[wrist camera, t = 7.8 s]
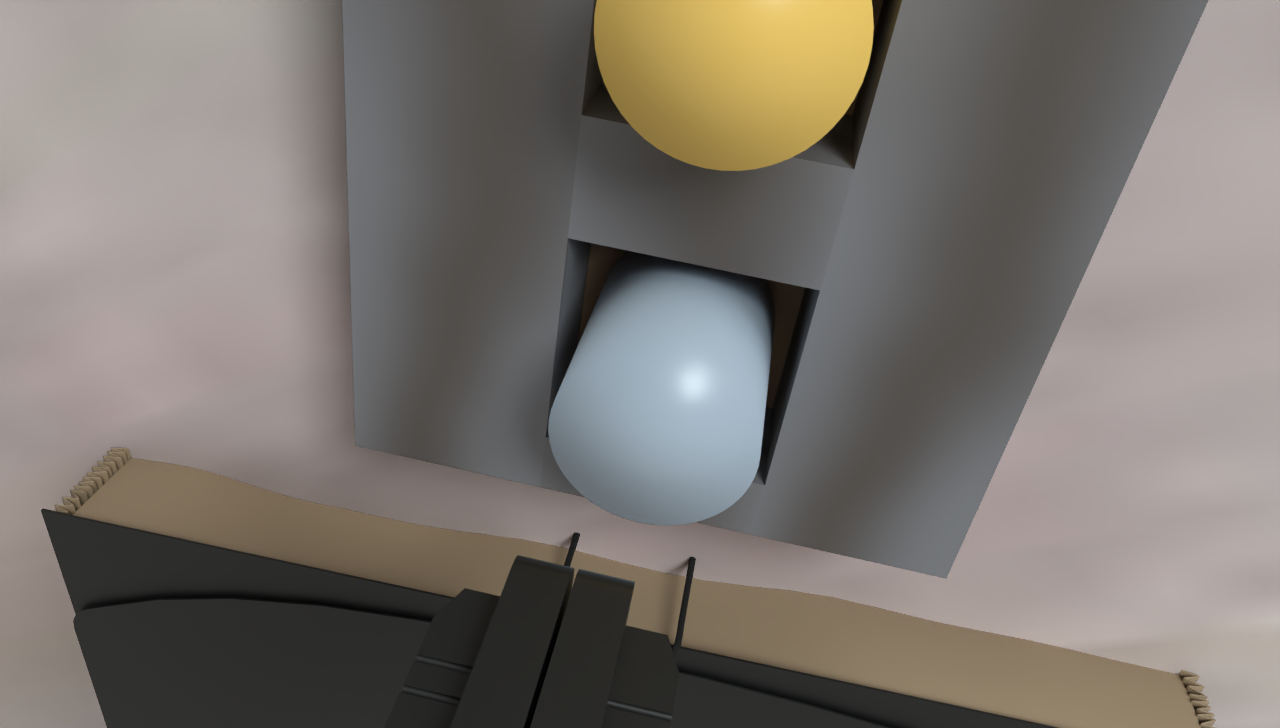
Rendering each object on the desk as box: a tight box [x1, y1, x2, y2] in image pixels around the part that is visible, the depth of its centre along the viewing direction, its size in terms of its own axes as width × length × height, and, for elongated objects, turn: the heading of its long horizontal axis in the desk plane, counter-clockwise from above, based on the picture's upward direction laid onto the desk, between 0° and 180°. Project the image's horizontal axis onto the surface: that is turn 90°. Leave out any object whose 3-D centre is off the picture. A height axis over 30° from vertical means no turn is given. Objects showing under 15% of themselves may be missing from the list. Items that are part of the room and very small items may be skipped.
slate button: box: [548, 251, 775, 525], centre depth 20 cm, size 4×4×5 cm
